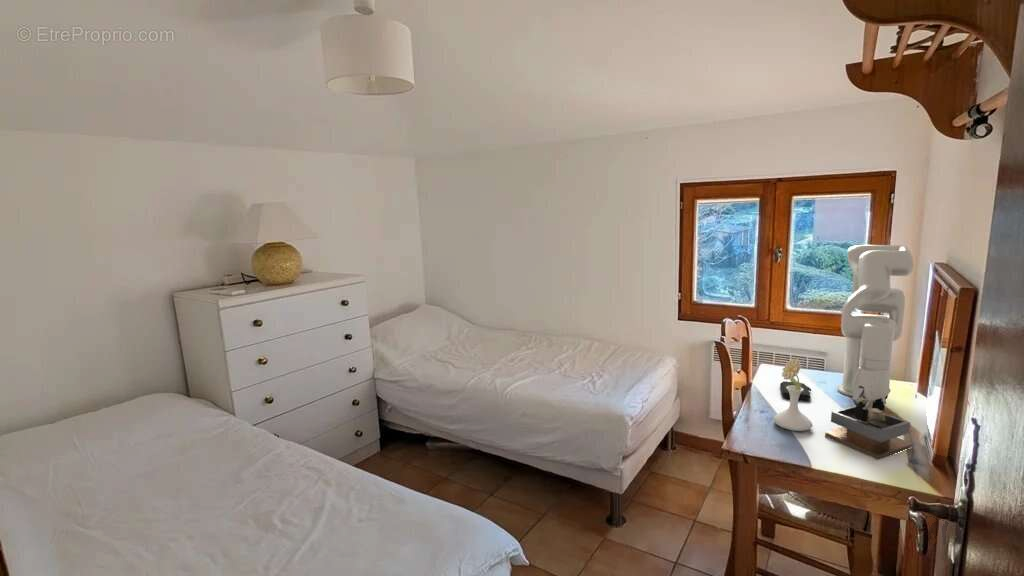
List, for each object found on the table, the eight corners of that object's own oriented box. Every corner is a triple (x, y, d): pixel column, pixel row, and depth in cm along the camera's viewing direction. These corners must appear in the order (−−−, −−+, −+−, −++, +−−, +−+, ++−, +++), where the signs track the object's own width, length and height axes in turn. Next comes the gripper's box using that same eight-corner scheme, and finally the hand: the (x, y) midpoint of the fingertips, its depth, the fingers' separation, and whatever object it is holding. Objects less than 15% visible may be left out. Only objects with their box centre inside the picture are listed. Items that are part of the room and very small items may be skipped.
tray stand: (858, 426, 159) (860, 402, 158) (912, 448, 145) (915, 422, 143) (825, 436, 154) (826, 411, 152) (877, 459, 139) (880, 432, 138)
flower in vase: (773, 417, 169) (777, 349, 165) (811, 422, 164) (815, 353, 159) (773, 432, 158) (777, 360, 153) (813, 439, 152) (819, 365, 148)
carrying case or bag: (814, 403, 179) (809, 389, 192) (814, 396, 178) (810, 382, 192) (782, 399, 184) (779, 386, 197) (782, 392, 183) (779, 379, 196)
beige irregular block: (890, 425, 142) (870, 394, 144) (866, 431, 146) (847, 401, 148) (888, 416, 149) (870, 387, 151) (866, 422, 153) (848, 393, 155)
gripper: (880, 355, 151) (875, 407, 155) (842, 363, 145) (838, 418, 148) (906, 362, 144) (900, 416, 148) (868, 371, 138) (863, 428, 142)
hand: (869, 417), depth 148 cm, fingers closed on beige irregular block, 6 cm apart
